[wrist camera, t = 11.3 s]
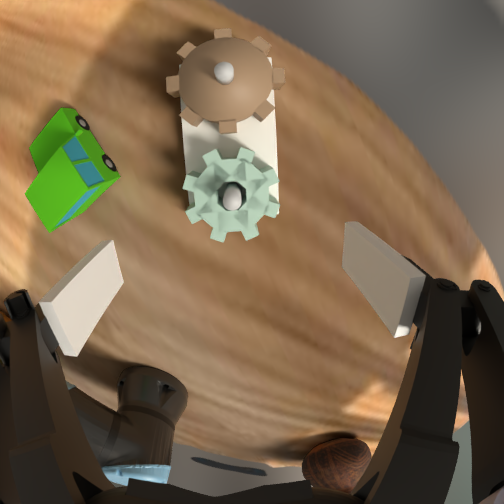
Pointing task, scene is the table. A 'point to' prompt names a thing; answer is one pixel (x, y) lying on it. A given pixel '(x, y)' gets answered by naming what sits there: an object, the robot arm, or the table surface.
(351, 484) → the brown wooden bulbous vase
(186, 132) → the gear board
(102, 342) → the table surface
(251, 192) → the loose gear
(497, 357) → the robot arm
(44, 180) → the toy car
